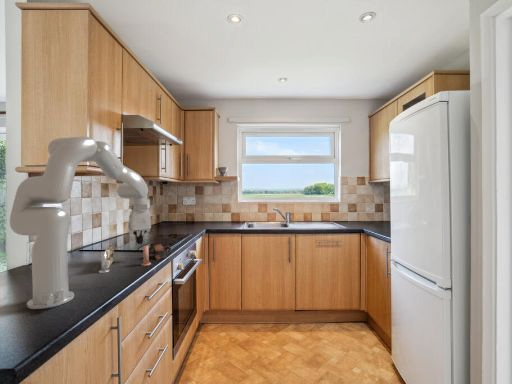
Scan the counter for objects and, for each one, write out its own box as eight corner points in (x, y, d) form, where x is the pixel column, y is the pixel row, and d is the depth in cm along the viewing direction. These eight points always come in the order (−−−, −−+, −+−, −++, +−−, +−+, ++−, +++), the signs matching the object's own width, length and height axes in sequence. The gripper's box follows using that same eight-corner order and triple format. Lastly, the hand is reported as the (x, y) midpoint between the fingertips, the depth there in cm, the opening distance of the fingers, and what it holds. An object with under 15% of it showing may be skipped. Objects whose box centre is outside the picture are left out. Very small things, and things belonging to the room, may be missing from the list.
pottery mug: (151, 262, 140) (146, 247, 143) (151, 265, 148) (146, 252, 151) (173, 253, 146) (168, 239, 148) (173, 257, 154) (168, 244, 156)
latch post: (152, 264, 134) (152, 246, 134) (143, 266, 131) (142, 247, 131) (148, 262, 137) (148, 245, 137) (139, 264, 134) (139, 246, 134)
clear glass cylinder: (111, 271, 123) (110, 251, 123) (100, 273, 120) (99, 253, 120) (108, 269, 127) (107, 250, 127) (97, 271, 124) (97, 251, 123)
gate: (106, 269, 125) (106, 253, 125) (103, 270, 125) (102, 253, 125) (114, 260, 142) (113, 245, 142) (110, 260, 142) (110, 245, 142)
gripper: (126, 208, 133) (126, 246, 133) (156, 207, 143) (156, 242, 143) (121, 208, 139) (121, 244, 138) (151, 207, 149) (151, 241, 149)
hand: (139, 243), depth 141 cm, fingers closed
